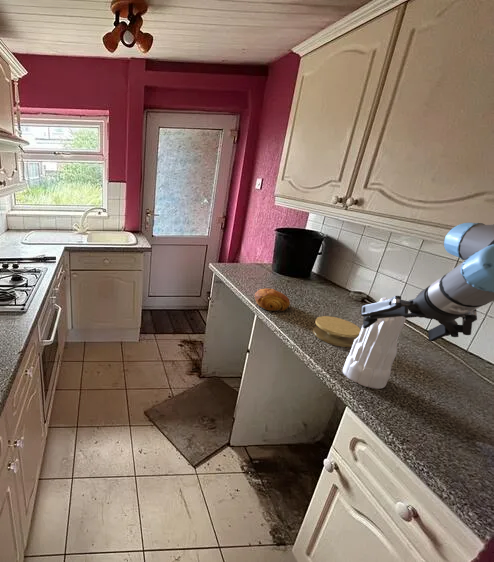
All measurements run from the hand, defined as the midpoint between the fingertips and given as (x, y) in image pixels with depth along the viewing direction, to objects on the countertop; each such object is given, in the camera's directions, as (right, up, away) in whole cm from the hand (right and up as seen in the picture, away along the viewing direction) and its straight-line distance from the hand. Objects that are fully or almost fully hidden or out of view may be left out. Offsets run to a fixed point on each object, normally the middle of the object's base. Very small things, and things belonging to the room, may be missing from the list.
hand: (396, 329), depth 80 cm
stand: (+9, -8, +36) cm, 38 cm away
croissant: (-3, +2, +61) cm, 61 cm away
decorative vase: (+3, -17, +15) cm, 22 cm away
